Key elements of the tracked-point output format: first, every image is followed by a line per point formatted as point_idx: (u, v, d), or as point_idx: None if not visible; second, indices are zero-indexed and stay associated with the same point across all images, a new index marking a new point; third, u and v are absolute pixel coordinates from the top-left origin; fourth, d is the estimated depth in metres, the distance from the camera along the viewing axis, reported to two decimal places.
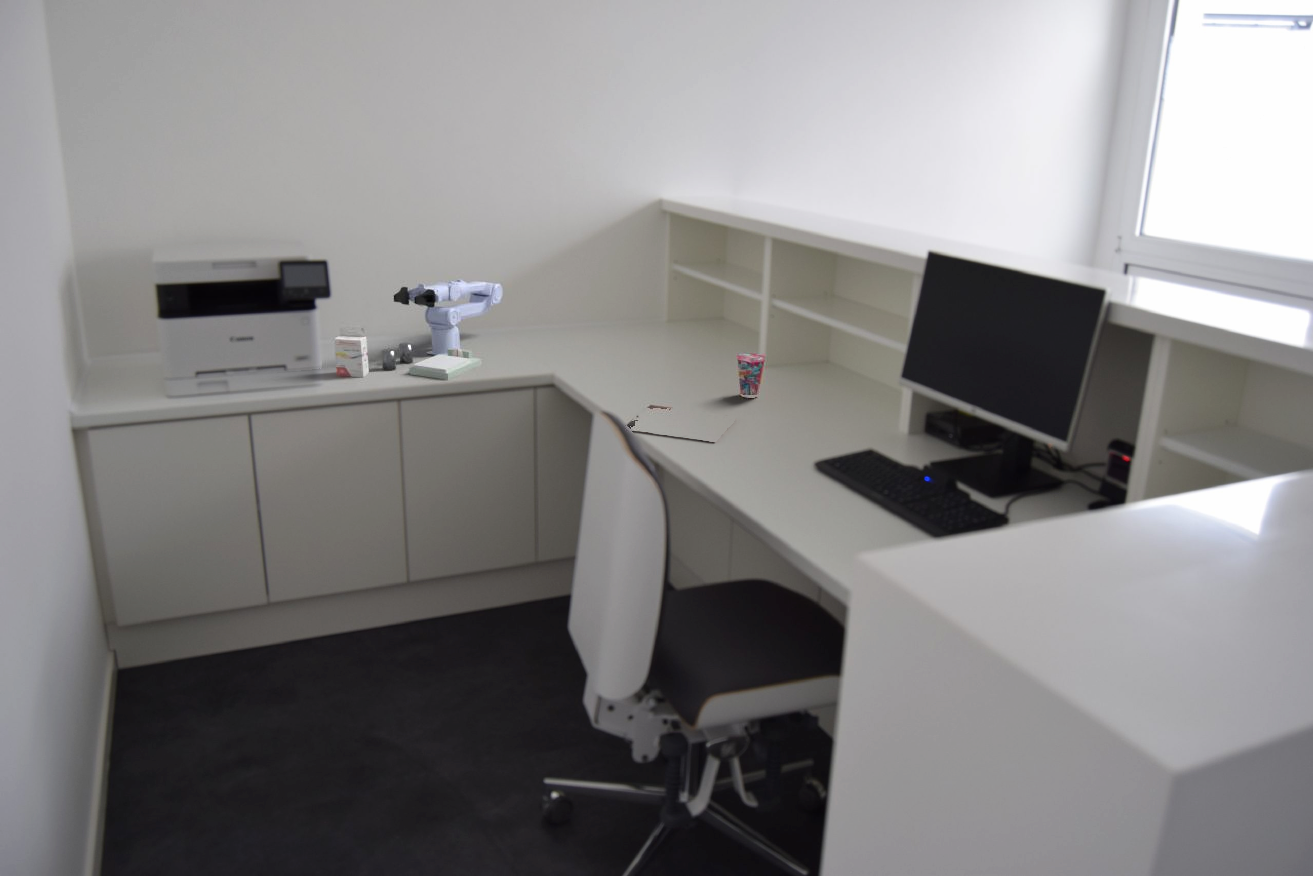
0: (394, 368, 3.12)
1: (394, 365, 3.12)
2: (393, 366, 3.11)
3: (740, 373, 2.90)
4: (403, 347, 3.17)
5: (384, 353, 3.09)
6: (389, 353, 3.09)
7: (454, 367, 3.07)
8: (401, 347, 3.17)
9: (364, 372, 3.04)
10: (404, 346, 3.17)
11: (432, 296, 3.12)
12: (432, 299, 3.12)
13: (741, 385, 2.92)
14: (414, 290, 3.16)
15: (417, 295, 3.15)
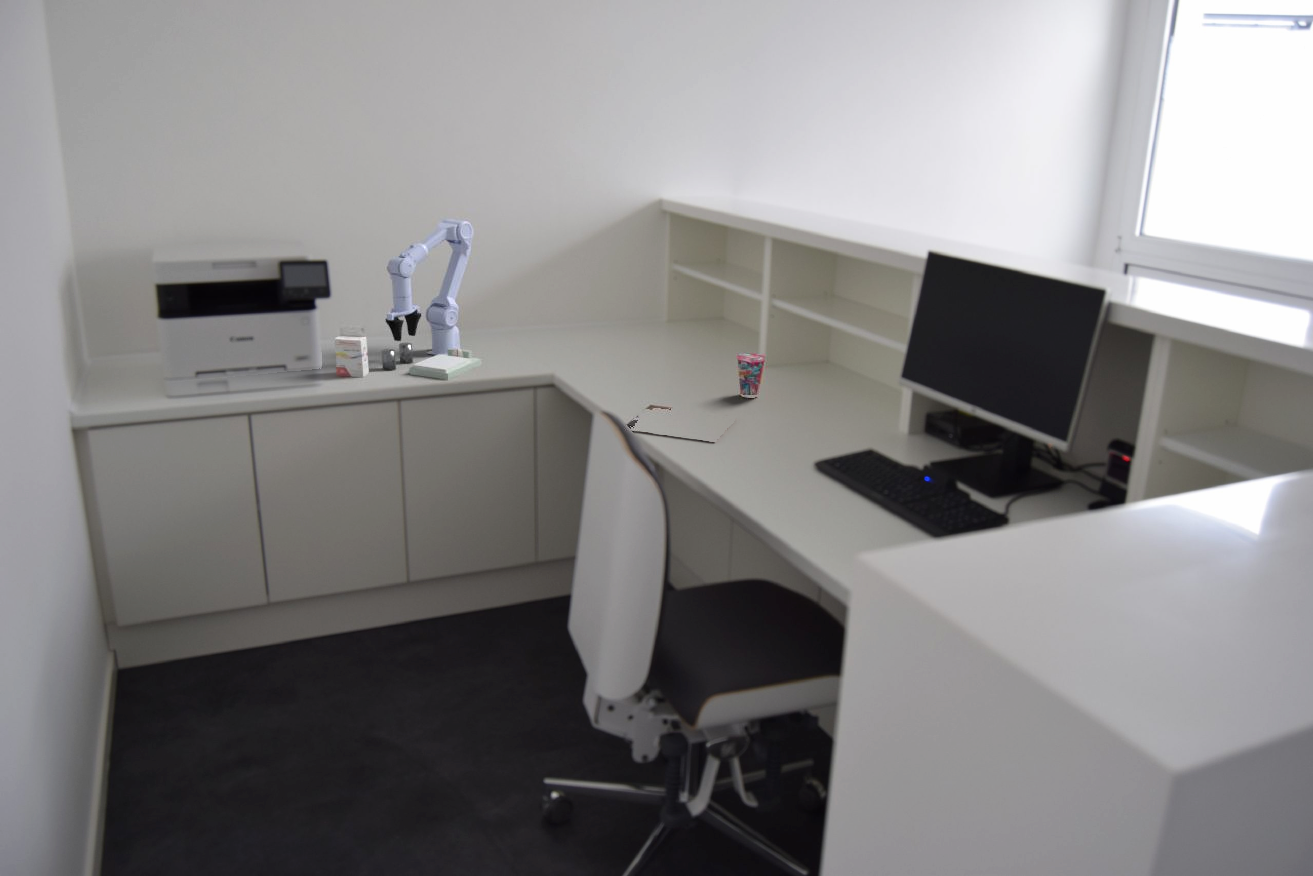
0: (394, 368, 3.12)
1: (394, 365, 3.12)
2: (393, 366, 3.11)
3: (740, 373, 2.90)
4: (403, 347, 3.17)
5: (384, 353, 3.09)
6: (389, 353, 3.09)
7: (454, 367, 3.07)
8: (401, 347, 3.17)
9: (364, 372, 3.04)
10: (404, 346, 3.17)
11: (390, 321, 3.11)
12: (393, 321, 3.11)
13: (741, 385, 2.92)
14: None
15: (404, 313, 3.16)
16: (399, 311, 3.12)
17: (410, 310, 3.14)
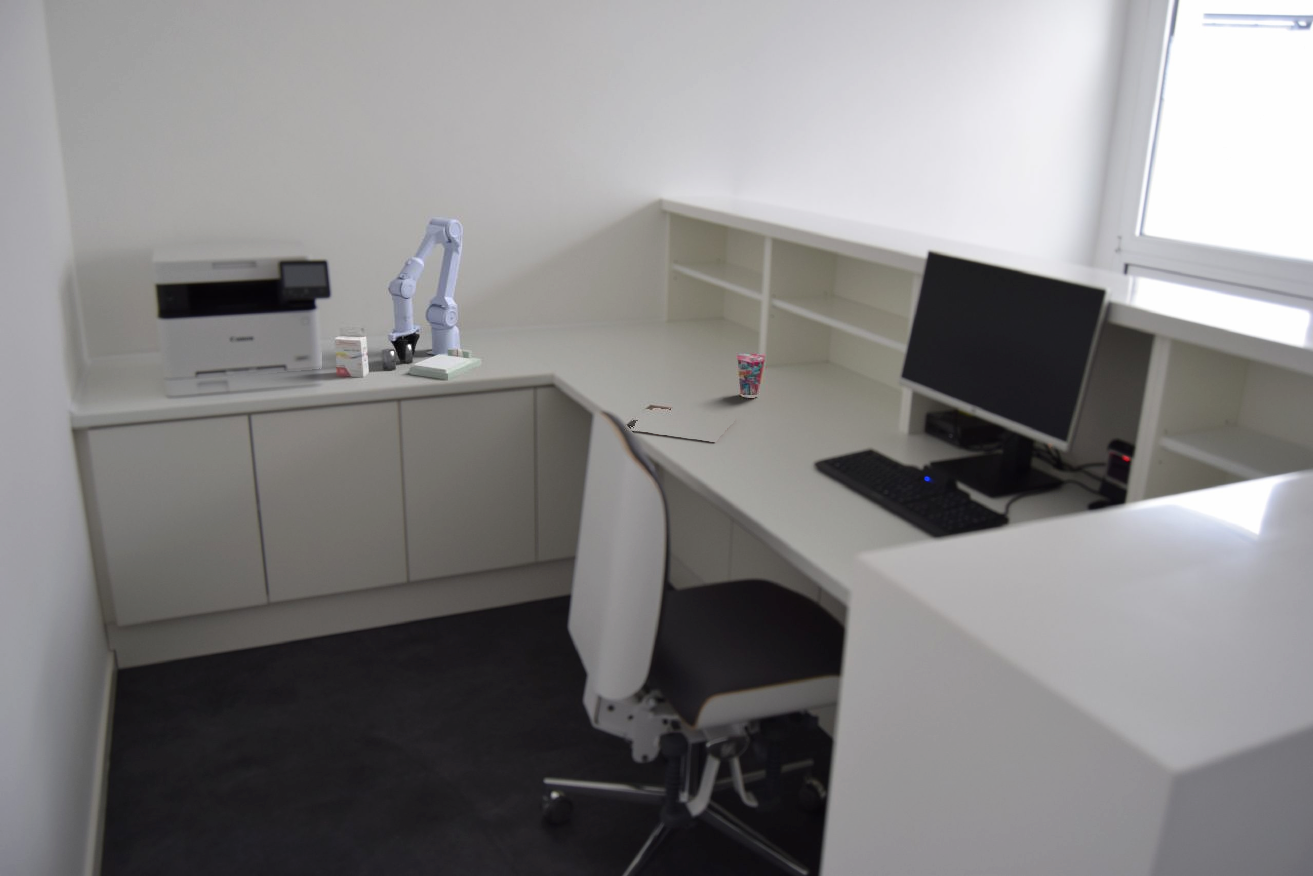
0: (394, 368, 3.12)
1: (394, 365, 3.12)
2: (393, 366, 3.11)
3: (740, 373, 2.90)
4: None
5: (384, 353, 3.09)
6: (389, 353, 3.09)
7: (454, 367, 3.07)
8: None
9: (364, 372, 3.04)
10: None
11: (395, 341, 3.15)
12: None
13: (741, 385, 2.92)
14: None
15: None
16: (400, 331, 3.14)
17: (411, 330, 3.16)
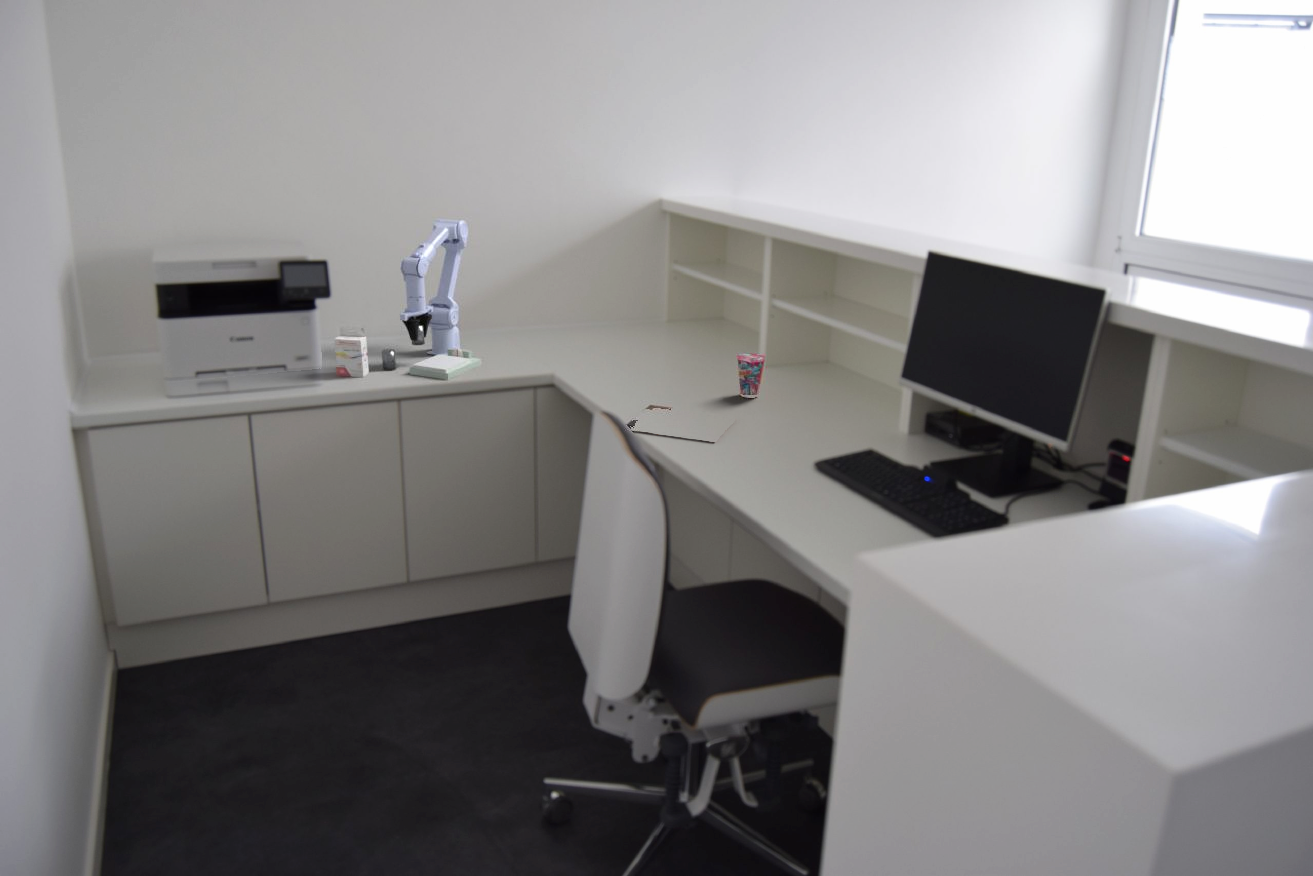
0: (394, 368, 3.12)
1: (394, 365, 3.12)
2: (393, 366, 3.11)
3: (740, 373, 2.90)
4: None
5: (384, 353, 3.09)
6: (389, 353, 3.09)
7: (454, 367, 3.07)
8: None
9: (364, 372, 3.04)
10: None
11: (407, 321, 3.10)
12: None
13: (741, 385, 2.92)
14: None
15: None
16: (412, 311, 3.10)
17: (424, 310, 3.12)
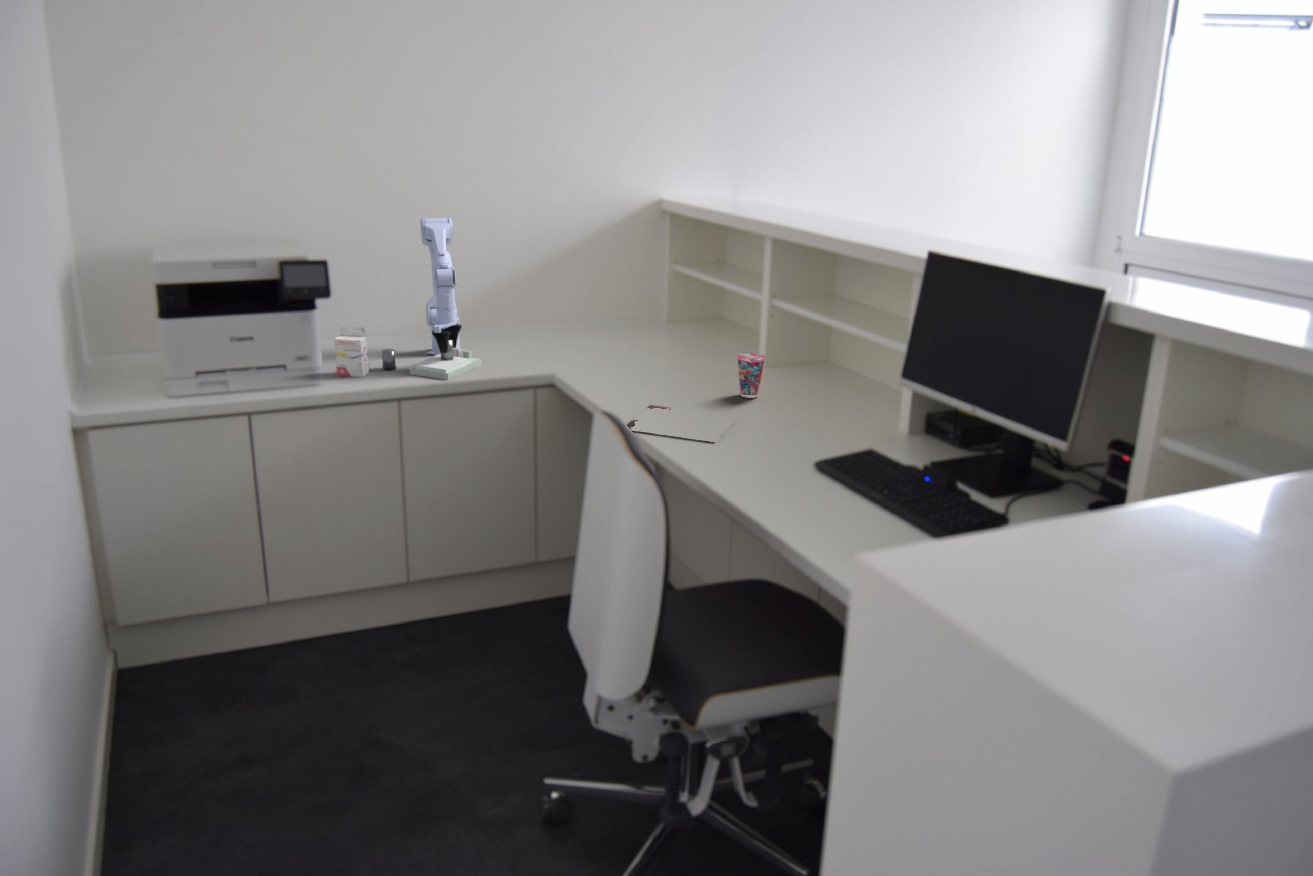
0: (394, 368, 3.12)
1: (394, 365, 3.12)
2: (393, 366, 3.11)
3: (740, 373, 2.90)
4: None
5: (384, 353, 3.09)
6: (389, 353, 3.09)
7: (454, 367, 3.07)
8: None
9: (364, 372, 3.04)
10: None
11: (438, 333, 3.06)
12: (440, 333, 3.06)
13: (741, 385, 2.92)
14: None
15: None
16: (444, 323, 3.07)
17: (454, 322, 3.09)
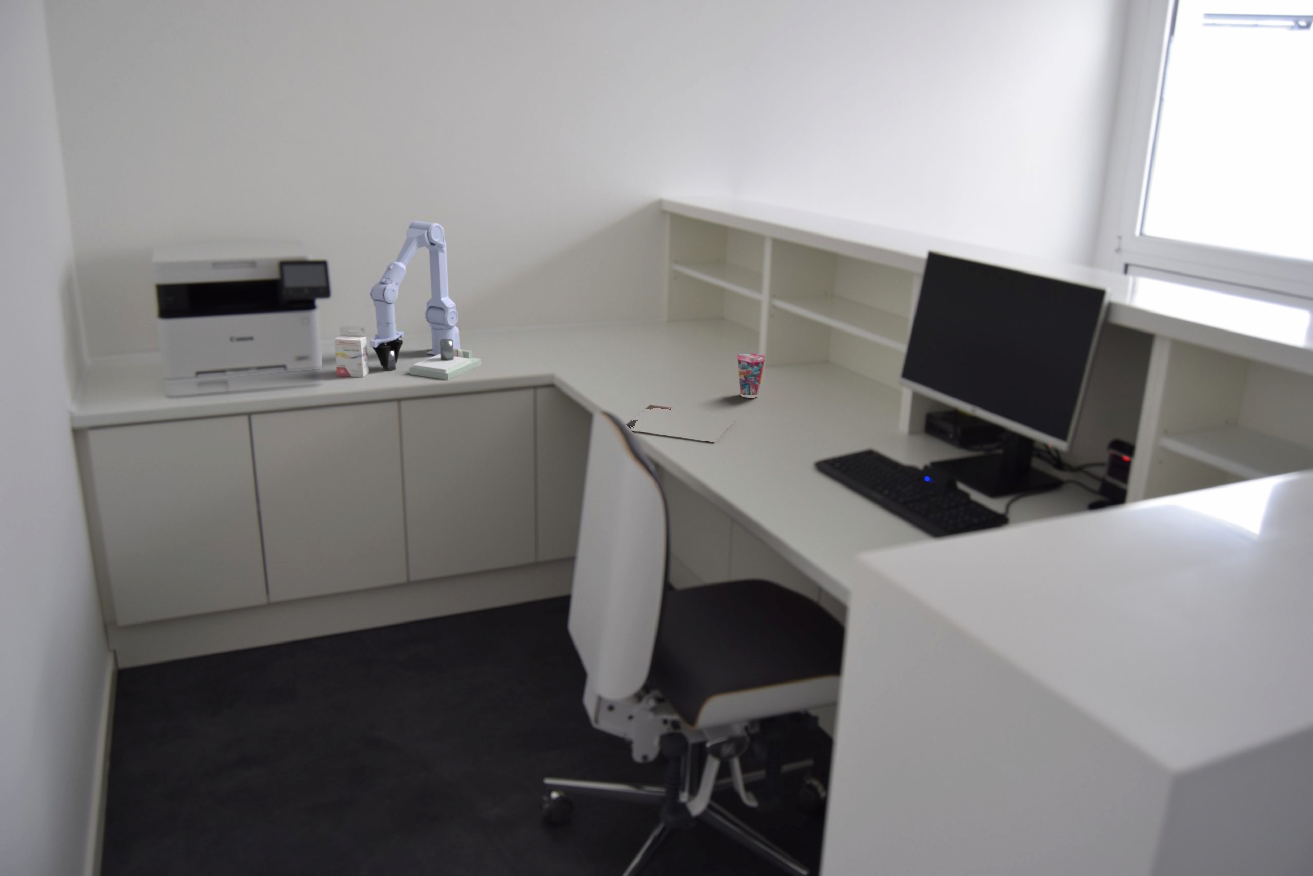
0: (394, 368, 3.12)
1: (394, 365, 3.12)
2: (393, 366, 3.11)
3: (740, 373, 2.90)
4: (445, 343, 3.10)
5: None
6: (389, 353, 3.09)
7: (454, 367, 3.07)
8: (443, 344, 3.10)
9: (364, 372, 3.04)
10: (446, 342, 3.10)
11: None
12: (380, 347, 3.06)
13: (741, 385, 2.92)
14: None
15: None
16: (383, 338, 3.06)
17: (394, 336, 3.08)
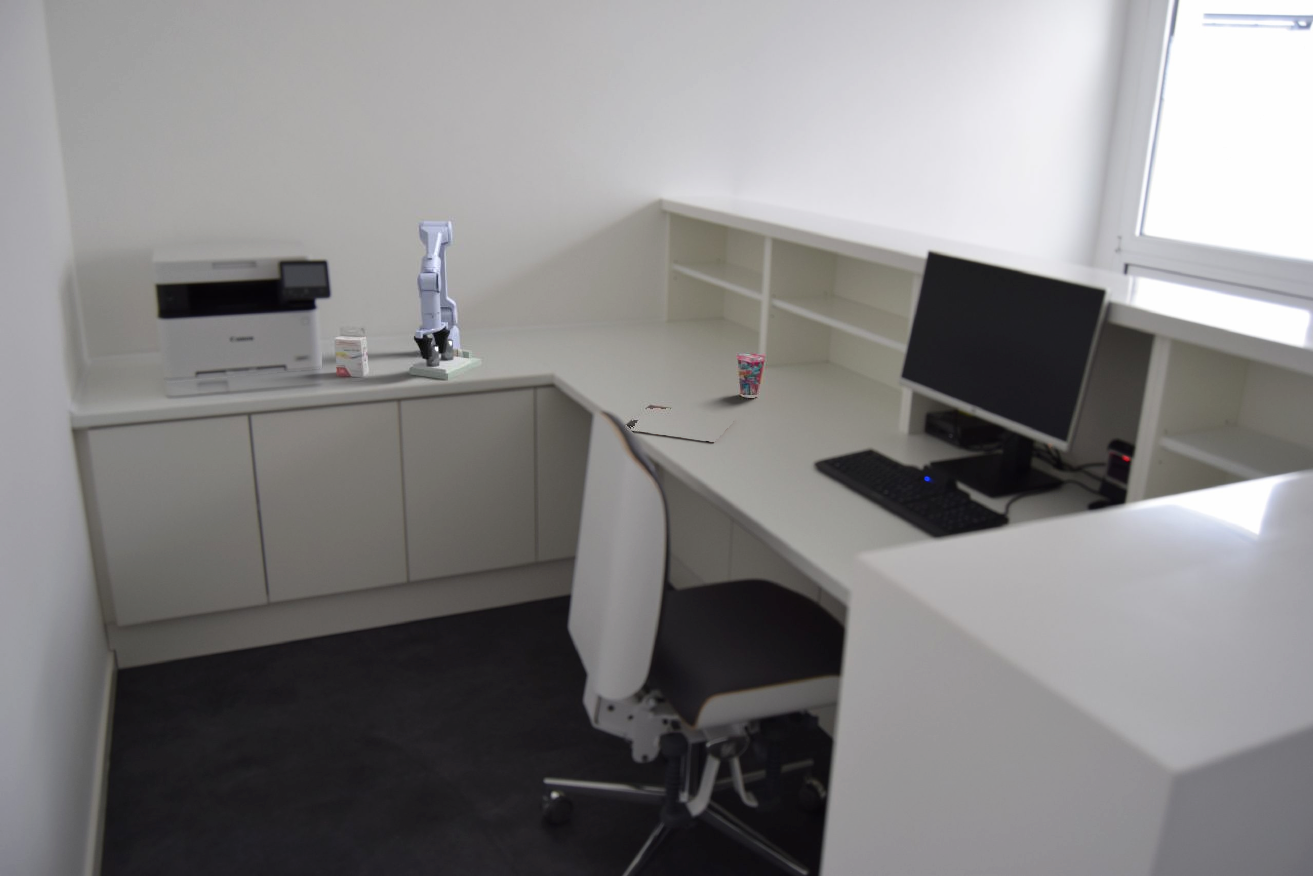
0: (438, 364, 3.06)
1: (438, 361, 3.06)
2: (437, 362, 3.06)
3: (740, 373, 2.90)
4: None
5: None
6: (433, 349, 3.03)
7: (454, 367, 3.07)
8: None
9: (364, 372, 3.04)
10: (446, 342, 3.10)
11: None
12: (422, 339, 2.99)
13: (741, 385, 2.92)
14: None
15: None
16: (428, 328, 3.00)
17: (439, 327, 3.02)
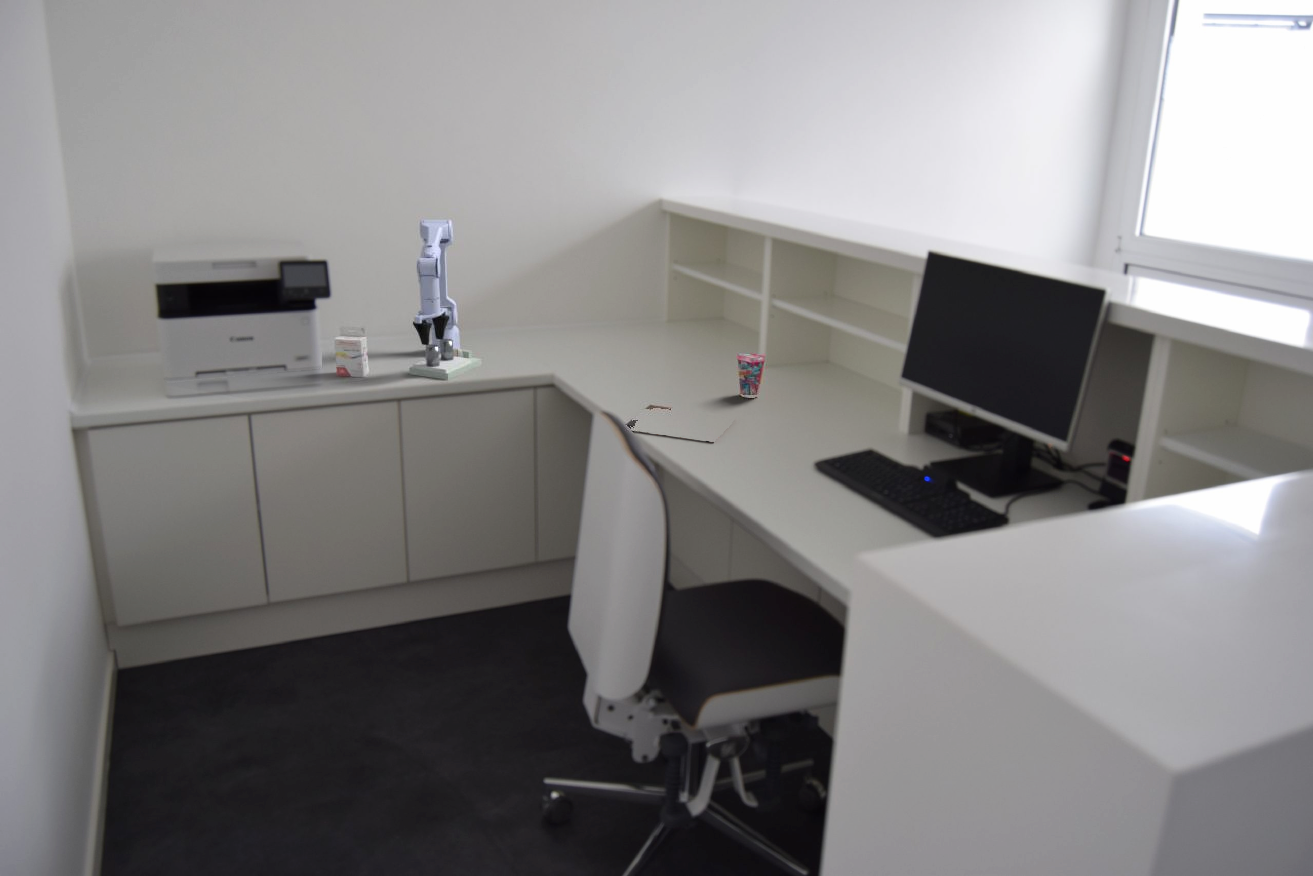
0: (438, 364, 3.06)
1: (438, 361, 3.06)
2: (437, 362, 3.06)
3: (740, 373, 2.90)
4: (445, 343, 3.10)
5: (429, 349, 3.03)
6: (434, 349, 3.03)
7: (454, 367, 3.07)
8: (443, 344, 3.10)
9: (364, 372, 3.04)
10: (446, 342, 3.10)
11: (418, 324, 2.98)
12: (421, 325, 2.97)
13: (741, 385, 2.92)
14: None
15: (431, 316, 3.03)
16: (427, 314, 2.99)
17: (438, 313, 3.00)
